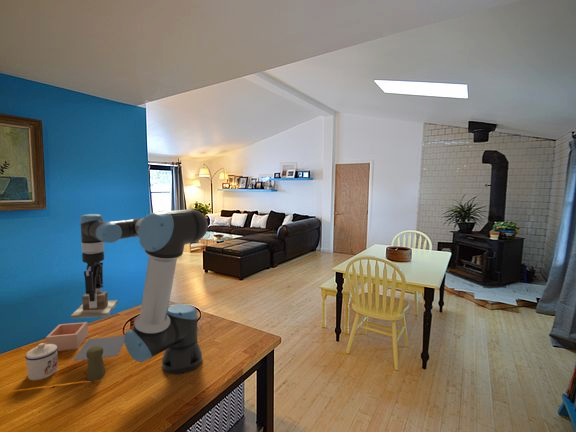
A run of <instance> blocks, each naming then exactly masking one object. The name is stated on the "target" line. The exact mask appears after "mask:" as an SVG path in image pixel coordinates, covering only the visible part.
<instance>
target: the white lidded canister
mask: <svg viewBox="0 0 576 432" xmlns="http://www.w3.org/2000/svg"><path fill="white" fill-rule="evenodd" d="M57 349H58V347H57V346H56V345H54V344H46V342H41V343H39V344H38V345H37V346H36V347H33V348H32V349H30V350H28V351H27V352H26V353H25V357H24V358H25V359H26V360H25V361H26V368H27V369H26V370H27V372H26V373H27V379H28V380H30V381H38V380H43V379H46V378H48V377H51V376H52V375H54V374H55V373H56V372H58V371H59V370H58V369H59V361H58V360H59V358H58V351H57Z"/></svg>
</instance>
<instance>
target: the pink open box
mask: <svg viewBox="0 0 576 432" xmlns="http://www.w3.org/2000/svg"><path fill="white" fill-rule="evenodd" d="M88 328H89V327H88V321H84V322H72V323H62V324H61V323H60V324H58V325H57V326H56V327H54V328H53V330H52V331H51V332H50V333H48V335H47V336H45V344H54V345H56V346H57V347H58V349H57V352H61V351H62V352H63V351H73V350H78V349H79V348H80V347H81V345H82V344H83V343H84V342H85V340H86V339H87V337H88V336H89V330H88Z"/></svg>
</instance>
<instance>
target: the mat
mask: <svg viewBox="0 0 576 432" xmlns="http://www.w3.org/2000/svg"><path fill="white" fill-rule="evenodd" d="M124 345H125V342H124V335H120V336H119V335H117V336H109V337H108V336H107V337H98V338H95V337H94V338H88V339H87V341H86V342H85V344H84V345H83V346H82V348H81V349H80V350H79V351H78V353H77V354H76V355H75V357H74V358H73V359H72V361H73V362H74V361H75V362H76V361H83V360H88V358H87V356H86V353H87V351H88V350H89V349H90V348H92V347H94V346H101V347H102V348H103V354H102V358H110V357H117V356H119V355H120V354H119V353H121V350H122V348H123V347H124Z"/></svg>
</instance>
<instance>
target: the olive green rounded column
mask: <svg viewBox="0 0 576 432" xmlns="http://www.w3.org/2000/svg"><path fill="white" fill-rule="evenodd" d="M102 354H103V348H102V347H101V346H94V347H92V348H90V349H89V350H88V351H87V353H86V356H87V358H88V359H87V360H88V361H87V368H86V369H87V370H86V379H87V380H86V381H88V382H97V381H99V380H101V379H102V377H104V376H105V374H106V373H107V372H106V367H105V363H104V359H103V358H104V357H103V358H102Z"/></svg>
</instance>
